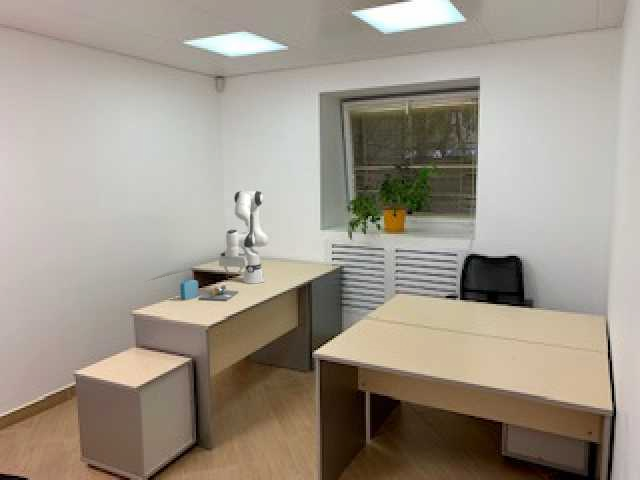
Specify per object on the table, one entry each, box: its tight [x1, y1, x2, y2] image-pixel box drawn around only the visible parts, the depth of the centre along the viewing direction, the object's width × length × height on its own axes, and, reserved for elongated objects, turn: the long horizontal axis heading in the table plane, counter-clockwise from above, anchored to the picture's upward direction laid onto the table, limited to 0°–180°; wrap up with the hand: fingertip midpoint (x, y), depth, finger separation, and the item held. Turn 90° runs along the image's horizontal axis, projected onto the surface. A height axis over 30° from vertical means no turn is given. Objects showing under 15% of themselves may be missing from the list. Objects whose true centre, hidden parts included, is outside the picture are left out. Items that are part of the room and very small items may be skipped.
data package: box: [179, 279, 200, 301], centre depth 335 cm, size 12×4×12 cm, turn 145°
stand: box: [198, 289, 239, 302], centre depth 340 cm, size 22×21×2 cm
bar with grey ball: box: [211, 284, 227, 296], centre depth 339 cm, size 20×6×5 cm, turn 168°
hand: (233, 272), depth 340 cm, fingers open, 8 cm apart
